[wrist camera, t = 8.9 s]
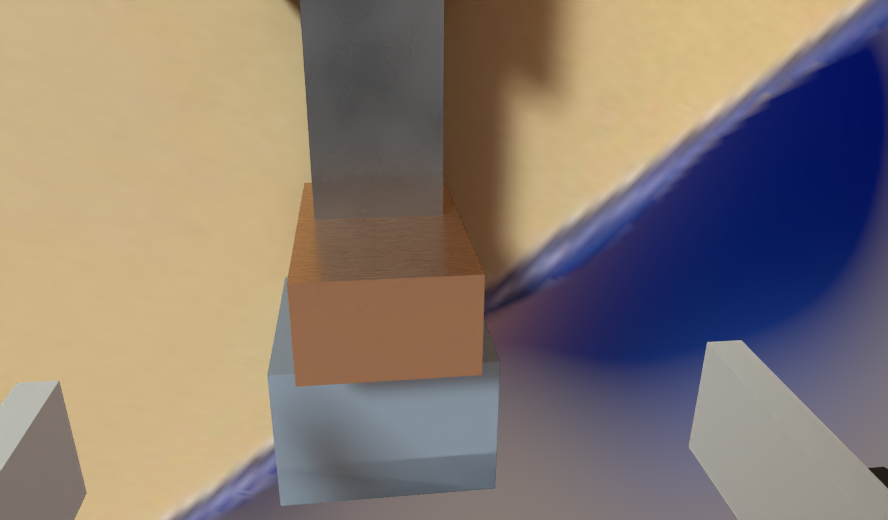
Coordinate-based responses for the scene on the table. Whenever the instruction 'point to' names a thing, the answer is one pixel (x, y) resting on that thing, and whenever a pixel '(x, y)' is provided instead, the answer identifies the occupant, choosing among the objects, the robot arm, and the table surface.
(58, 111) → the table surface
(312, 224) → the blue and tan block
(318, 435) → the grey rectangular block
